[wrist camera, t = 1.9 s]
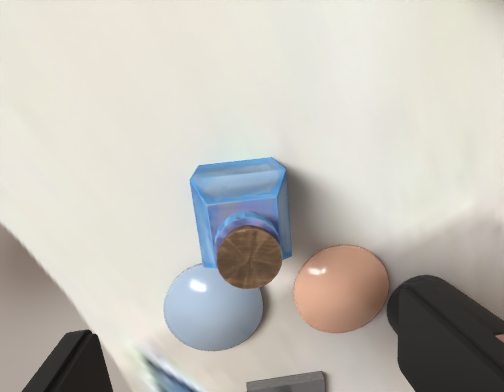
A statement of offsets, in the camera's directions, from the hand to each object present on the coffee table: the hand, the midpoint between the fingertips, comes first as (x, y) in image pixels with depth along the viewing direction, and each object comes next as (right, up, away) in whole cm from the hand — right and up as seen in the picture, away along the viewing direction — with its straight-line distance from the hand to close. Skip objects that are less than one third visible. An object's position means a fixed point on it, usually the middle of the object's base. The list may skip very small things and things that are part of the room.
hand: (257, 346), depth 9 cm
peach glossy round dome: (+8, -4, +19) cm, 21 cm away
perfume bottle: (-1, +5, +17) cm, 17 cm away
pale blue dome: (-4, -6, +19) cm, 20 cm away
